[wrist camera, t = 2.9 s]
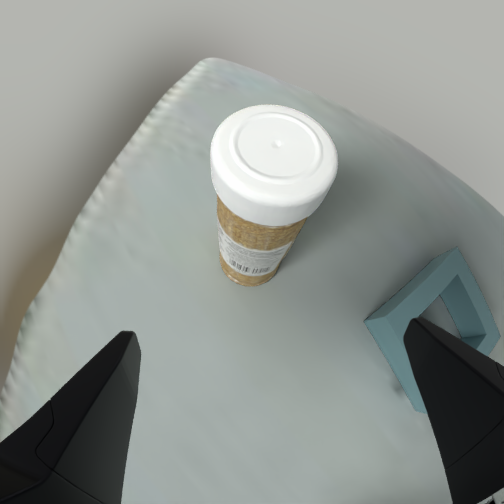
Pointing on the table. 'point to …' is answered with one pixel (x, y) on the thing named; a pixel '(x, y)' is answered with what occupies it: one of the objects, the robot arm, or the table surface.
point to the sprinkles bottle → (267, 185)
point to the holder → (418, 299)
